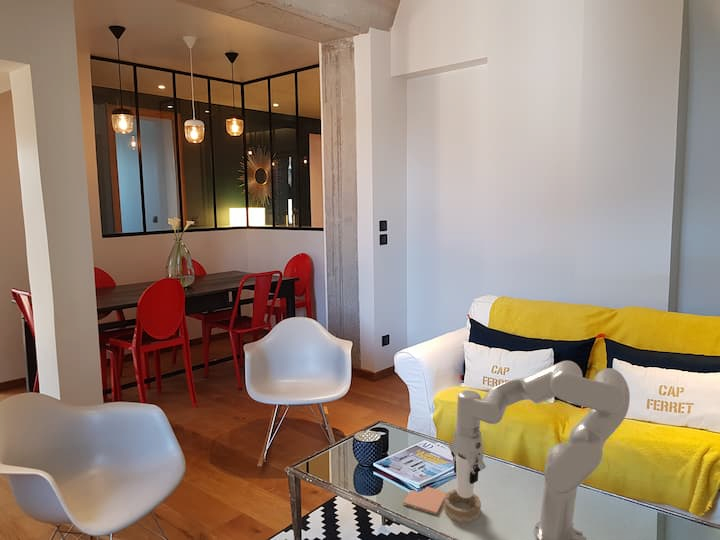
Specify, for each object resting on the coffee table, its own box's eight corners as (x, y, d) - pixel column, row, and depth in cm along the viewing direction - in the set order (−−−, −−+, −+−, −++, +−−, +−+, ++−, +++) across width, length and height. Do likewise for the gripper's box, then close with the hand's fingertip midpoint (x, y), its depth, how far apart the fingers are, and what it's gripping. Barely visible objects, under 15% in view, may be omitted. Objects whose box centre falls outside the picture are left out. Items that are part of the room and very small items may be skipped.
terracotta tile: (446, 494, 198) (447, 492, 198) (436, 514, 188) (436, 512, 187) (415, 485, 203) (415, 483, 203) (403, 504, 193) (403, 502, 192)
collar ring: (483, 505, 193) (483, 495, 192) (474, 526, 182) (475, 515, 181) (449, 495, 198) (450, 485, 197) (439, 515, 187) (440, 505, 186)
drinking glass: (478, 493, 188) (481, 453, 185) (468, 503, 184) (470, 462, 180) (461, 485, 193) (463, 446, 189) (450, 494, 188) (452, 454, 184)
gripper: (496, 436, 178) (493, 485, 182) (457, 414, 191) (455, 461, 196) (479, 443, 173) (476, 494, 178) (441, 420, 187) (439, 468, 191)
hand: (465, 476), depth 187 cm, fingers closed on drinking glass, 6 cm apart
